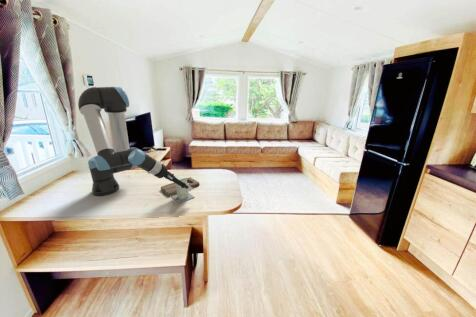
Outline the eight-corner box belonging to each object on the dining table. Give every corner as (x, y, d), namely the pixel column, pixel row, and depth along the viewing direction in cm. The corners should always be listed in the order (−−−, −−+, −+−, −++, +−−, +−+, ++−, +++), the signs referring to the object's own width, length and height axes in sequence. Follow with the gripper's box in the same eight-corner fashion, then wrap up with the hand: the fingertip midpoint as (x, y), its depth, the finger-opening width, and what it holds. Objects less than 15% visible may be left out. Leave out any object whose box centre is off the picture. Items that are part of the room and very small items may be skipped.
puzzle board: (161, 189, 136) (160, 186, 135) (190, 179, 149) (190, 177, 149) (168, 196, 127) (168, 193, 127) (199, 185, 141) (199, 182, 140)
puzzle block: (177, 196, 126) (175, 177, 122) (184, 193, 129) (182, 174, 125) (181, 199, 123) (178, 179, 118) (188, 196, 126) (186, 177, 121)
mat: (171, 197, 126) (171, 196, 126) (186, 191, 133) (186, 191, 133) (179, 203, 119) (179, 202, 119) (194, 197, 126) (194, 196, 125)
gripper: (145, 168, 118) (173, 184, 133) (162, 182, 101) (192, 198, 116) (153, 157, 120) (179, 174, 135) (171, 169, 103) (199, 187, 117)
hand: (185, 185), depth 125 cm, fingers open, 12 cm apart
